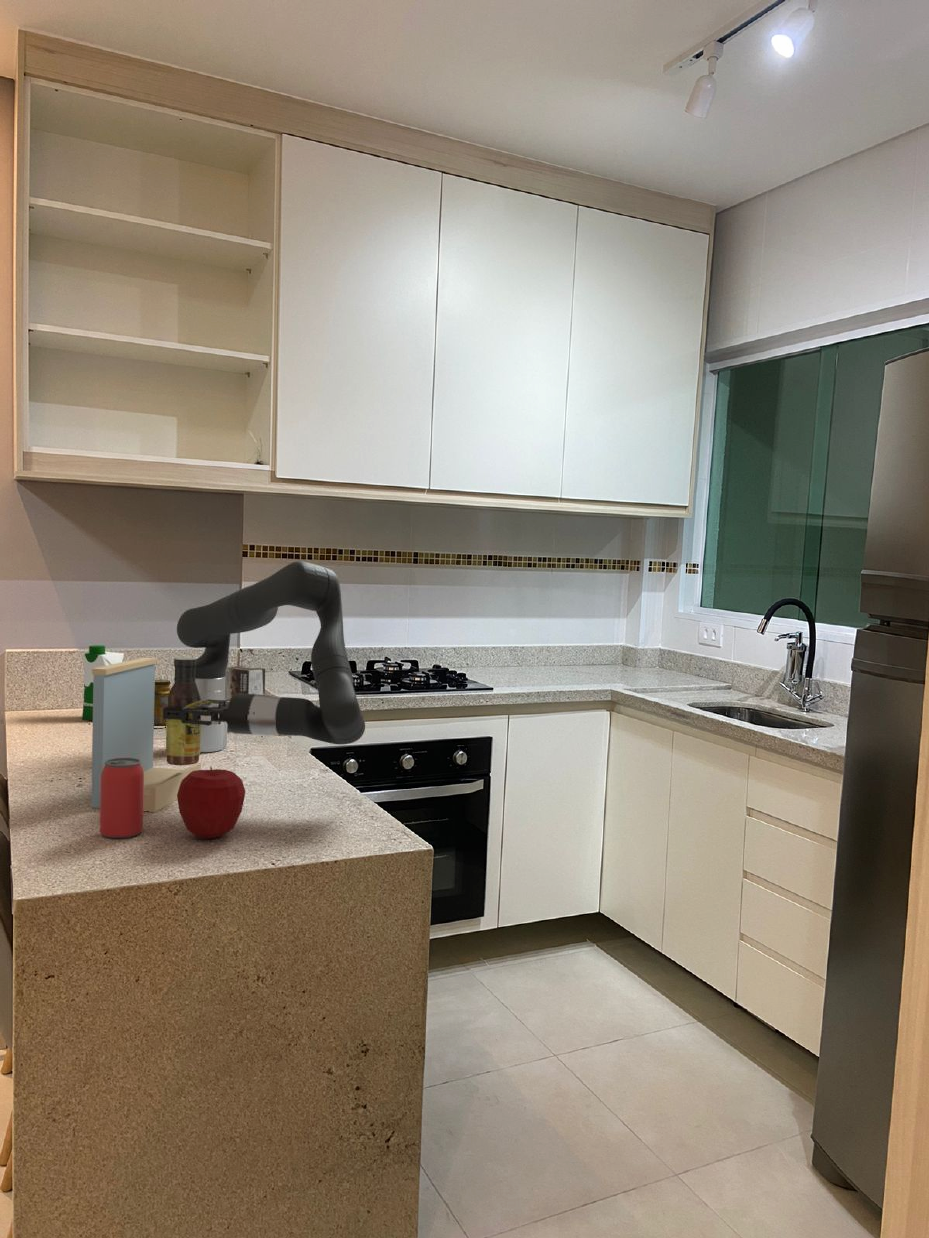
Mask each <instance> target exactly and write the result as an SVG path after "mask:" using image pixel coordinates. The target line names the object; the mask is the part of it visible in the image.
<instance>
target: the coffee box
mask: <svg viewBox="0 0 929 1238" xmlns="http://www.w3.org/2000/svg"><path fill="white" fill-rule="evenodd" d="M265 687H266V668H262V667H254V666H247V665H237V666H230V667H227V668H226V676H225V700H230V699H231V697H232V696H233V695H234V694H236V693H243V694H261V695H266V694H265V693H266V688H265ZM227 728H228V724H227Z"/></svg>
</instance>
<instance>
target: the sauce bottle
mask: <svg viewBox="0 0 929 1238" xmlns="http://www.w3.org/2000/svg"><path fill="white" fill-rule="evenodd" d="M196 659H197V658H195V657H176V658H173V666H174V679H173V680H174V683H173V684H172V687H170V691H169V693H168V706H171V707H195V706H196V705H197V704H201V701H202V700H201V697H200V694H199V691H198V688H197V685H196V682H195V680H196V679H195V667H196ZM200 710H201V709H200ZM189 717H192V713H189ZM165 731H166V732H165V736H166V737H165V754H166V763H167V764H168V765H172V766H192V765H194V764H195V763H199V761H200V754H201V752H200V746H201V725H200V724H189V723H181V720H180V719H167V727H166V728H165Z"/></svg>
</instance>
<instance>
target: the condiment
mask: <svg viewBox="0 0 929 1238" xmlns="http://www.w3.org/2000/svg"><path fill="white" fill-rule="evenodd" d="M170 690H171V681H170V680H168V679H155V695H154V726H167V719H165V718H164V717H163V708H164V707H166V706H168V693H169V691H170Z"/></svg>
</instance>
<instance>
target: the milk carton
mask: <svg viewBox="0 0 929 1238" xmlns="http://www.w3.org/2000/svg"><path fill="white" fill-rule="evenodd" d="M124 656H125V653H121V652H113V651H106V645H98V644H97V645H95V644H94V645H89V646H88V652H81V659H82V663H83V664H82V665H83V672H84V673H83V704H82V706H83V707H82V716H81V720H84V721H90V722H91V721H92V722H93V679H94V674H92V669H93V668H97V667H102V666H107V665H111V664H116V663H121V662H123V660H124Z"/></svg>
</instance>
